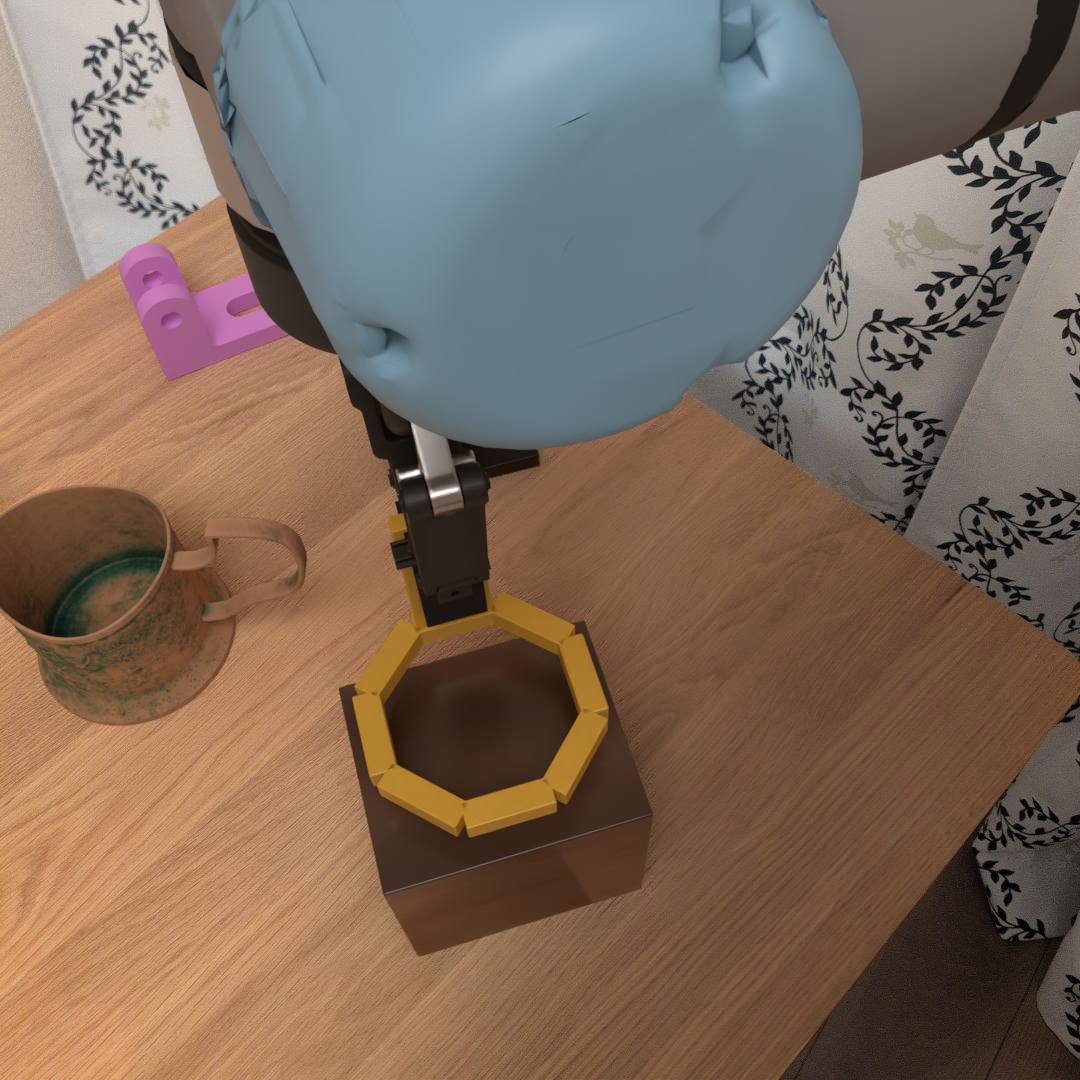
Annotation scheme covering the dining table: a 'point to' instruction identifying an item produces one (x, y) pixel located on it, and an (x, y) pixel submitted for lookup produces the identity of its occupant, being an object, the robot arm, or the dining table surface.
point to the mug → (124, 599)
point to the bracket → (192, 313)
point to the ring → (508, 802)
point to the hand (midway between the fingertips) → (451, 597)
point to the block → (492, 765)
